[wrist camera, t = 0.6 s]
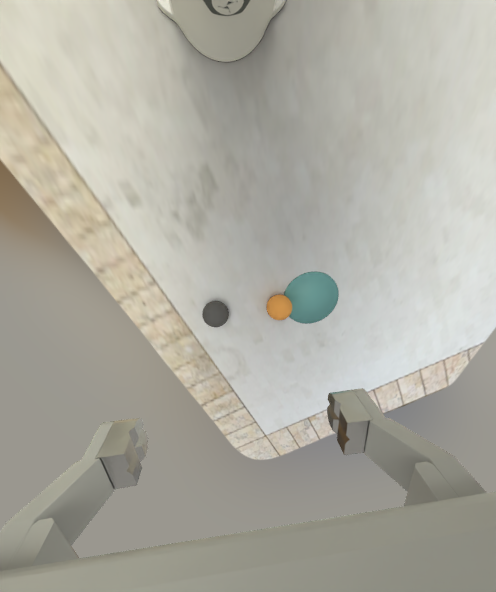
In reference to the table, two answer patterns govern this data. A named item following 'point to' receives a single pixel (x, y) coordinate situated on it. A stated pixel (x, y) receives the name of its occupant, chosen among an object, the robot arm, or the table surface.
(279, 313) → the orange ball
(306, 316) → the teal flat disc
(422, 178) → the table surface
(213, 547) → the robot arm
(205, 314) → the black ball
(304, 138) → the table surface
